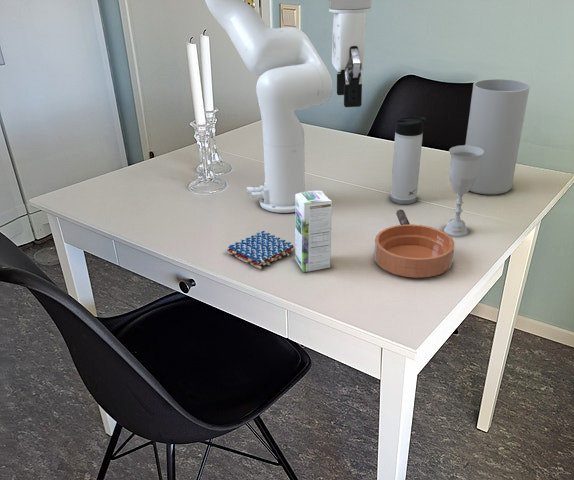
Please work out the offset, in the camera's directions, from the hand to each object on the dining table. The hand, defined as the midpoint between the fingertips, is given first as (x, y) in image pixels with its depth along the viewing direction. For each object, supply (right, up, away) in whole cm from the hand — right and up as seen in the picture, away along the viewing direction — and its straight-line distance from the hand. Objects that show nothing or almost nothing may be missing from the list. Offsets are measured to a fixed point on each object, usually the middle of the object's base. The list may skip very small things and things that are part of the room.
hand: (348, 100), depth 116 cm
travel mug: (+17, -15, +32) cm, 39 cm away
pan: (+13, -31, +5) cm, 34 cm away
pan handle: (+13, -22, +14) cm, 29 cm away
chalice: (+25, -24, +17) cm, 38 cm away
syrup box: (-7, -31, +5) cm, 32 cm away
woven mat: (-17, -29, +10) cm, 35 cm away
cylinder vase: (+39, -10, +38) cm, 55 cm away
